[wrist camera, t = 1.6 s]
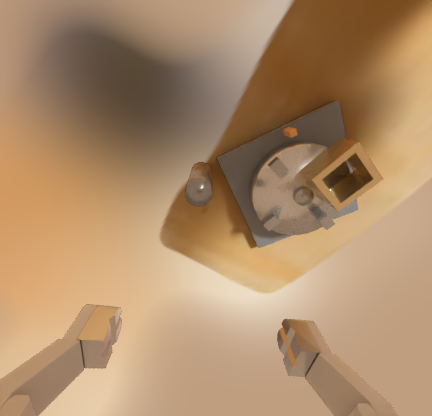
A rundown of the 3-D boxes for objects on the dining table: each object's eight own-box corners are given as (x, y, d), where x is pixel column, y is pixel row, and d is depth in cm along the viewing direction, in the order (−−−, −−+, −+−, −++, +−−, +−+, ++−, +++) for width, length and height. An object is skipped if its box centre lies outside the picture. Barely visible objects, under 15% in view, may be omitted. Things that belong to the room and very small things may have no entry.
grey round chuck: (284, 238, 34) (300, 265, 28) (231, 187, 29) (236, 206, 24) (359, 182, 30) (396, 199, 24) (310, 113, 25) (341, 114, 20)
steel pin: (206, 158, 29) (204, 176, 21) (214, 176, 30) (216, 199, 22) (188, 167, 30) (179, 188, 22) (197, 184, 31) (192, 210, 23)
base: (332, 101, 26) (352, 99, 23) (352, 205, 33) (369, 217, 30) (216, 157, 29) (217, 163, 26) (256, 243, 36) (261, 257, 32)
